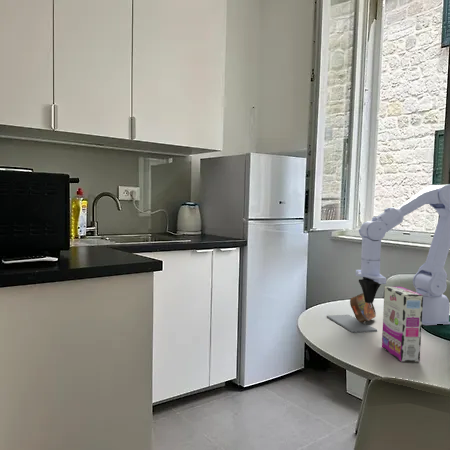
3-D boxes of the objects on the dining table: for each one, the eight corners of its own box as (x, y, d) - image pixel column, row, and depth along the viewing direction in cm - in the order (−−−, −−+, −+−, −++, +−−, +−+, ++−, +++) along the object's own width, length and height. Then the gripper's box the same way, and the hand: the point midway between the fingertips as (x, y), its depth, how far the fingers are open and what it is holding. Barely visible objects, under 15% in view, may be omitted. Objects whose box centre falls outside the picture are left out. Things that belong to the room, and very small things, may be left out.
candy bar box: (421, 362, 105) (424, 295, 104) (401, 362, 104) (404, 294, 103) (399, 346, 116) (401, 285, 115) (380, 347, 115) (383, 285, 114)
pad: (348, 316, 146) (348, 314, 146) (377, 331, 129) (377, 329, 129) (326, 317, 144) (326, 315, 144) (352, 332, 127) (352, 330, 127)
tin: (365, 322, 131) (355, 295, 133) (355, 325, 132) (346, 298, 134) (378, 315, 143) (369, 291, 145) (369, 318, 145) (360, 293, 147)
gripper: (347, 256, 143) (346, 297, 144) (371, 263, 129) (369, 308, 129) (367, 256, 144) (365, 297, 145) (393, 262, 130) (391, 307, 131)
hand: (369, 302), depth 137 cm, fingers closed
